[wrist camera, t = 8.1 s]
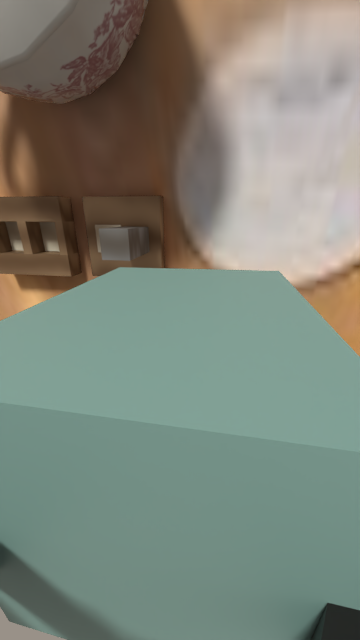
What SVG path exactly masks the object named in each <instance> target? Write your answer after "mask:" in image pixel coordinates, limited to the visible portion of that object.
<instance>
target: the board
mask: <svg viewBox="0 0 360 640" xmlns="http://www.w3.org/2000/svg"><path fill="white" fill-rule="evenodd" d="M82 201H83V208H84V215H85V223H86V230H87V238H88V245H89V252H90V260H91V267H92V274H93V276H101V275H104V274H106V273H108V272H110V271H113V270H115V269H117V268H119V267H129V268H165V267H164V220H163V197H161V196H100V197H82Z"/></svg>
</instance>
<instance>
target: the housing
mask: <svg viewBox="0 0 360 640" xmlns="http://www.w3.org/2000/svg"><path fill="white" fill-rule="evenodd" d="M327 603H332V604H336V605H340V606H344V607H348V608H352V609H357V610H360V357H359V356H358V355H357V354H356V353H355V352H354V351H353V349H352V348H351V347H350V346H349V345H348V344H347V343H346V342H345V341H344V340H343V339H342V338H341V337H340V336H339V335H338V333H337V332H336V331H335V330H334V329H333V328H332V327H331V326H330V325H329V324H328V323H327V322H326V321H325V320H324V319H323V318H322V316H321V315H320V314H319V313H318V312H317V311H316V310H315V309H314V308H313V307H312V306H311V305H310V304H309V303H308V302H307V301H306V299H305V298H304V297H303V296H302V295H301V294H300V293H299V292H298V291H297V290H296V289H295V288H294V287H293V286H292V285H291V284H290V282H289V281H288V280H287V279H286V278H285V277H284V276H283V275H282V274H281V273H280V272H279V271H252V270H211V269H170V268H129V267H119V268H117V269H115V270H113V271H110V272H108V273H106V274H104V275H101V276H99V277H97V278H95V279H93V280H90V281H88V282H86V283H84V284H81V285H79V286H77V287H75V288H73V289H70V290H68V291H66V292H64V293H61V294H59V295H57V296H55V297H53V298H50V299H48V300H46V301H44V302H41V303H39V304H37V305H35V306H33V307H30V308H28V309H26V310H24V311H21V312H19V313H17V314H15V315H13V316H10V317H8V318H6V319H4V320H2V321H0V607H1V609H2V610H3V612H4V613H5V615H6V617H7V618H8V620H9V621H10V622H13V623H16V624H19V625H23V626H26V627H29V628H32V629H35V630H38V631H41V632H45V633H48V634H51V635H54V636H57V637H61V638H64V639H67V640H310V639H311V637H312V635H313V632H314V630H315V628H316V626H317V624H318V622H319V620H320V617H321V615H322V613H323V611H324V609H325V607H326V605H327Z"/></svg>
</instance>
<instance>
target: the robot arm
mask: <svg viewBox="0 0 360 640" xmlns="http://www.w3.org/2000/svg"><path fill="white" fill-rule="evenodd" d="M310 640H360V610H357V609H352V608H348V607H344V606H340V605H336V604H332V603H327V605H326V607H325V609H324V611H323V613H322V615H321V617H320V620H319V622H318V624H317V626H316V628H315V630H314V632H313V635H312V637H311V639H310Z"/></svg>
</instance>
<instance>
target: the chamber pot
mask: <svg viewBox="0 0 360 640" xmlns="http://www.w3.org/2000/svg"><path fill="white" fill-rule="evenodd" d="M147 3H148V0H0V91H1V92H3V93H5V94H8V95H12V96H16V97H20V98H24V99H27V100H31V101H39V102H49V103H58V104H63V103H66V102H69V101H72V100H75V99H78V98H81V97H84V96H87V95H90V94H92V93H93V92H94V91H95V90H96V89H97V88H98V87H99V86H101V85H102V84H103V83H104V82H105V81H106V80H107V79H108V78H110V77H111V76H112V75H113V74H114V73H115V72H116V71H117V70H118V69H119V67H120V65H121V63H122V62H123V60H124V58H125V56H126V55H127V53H128V51H129V50H130V48H131V46H132V44H133V43H134V41H135V39H136V37H137V36H138V34H139V31H140V28H141V24H142V21H143V17H144V13H145V10H146V6H147Z"/></svg>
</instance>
